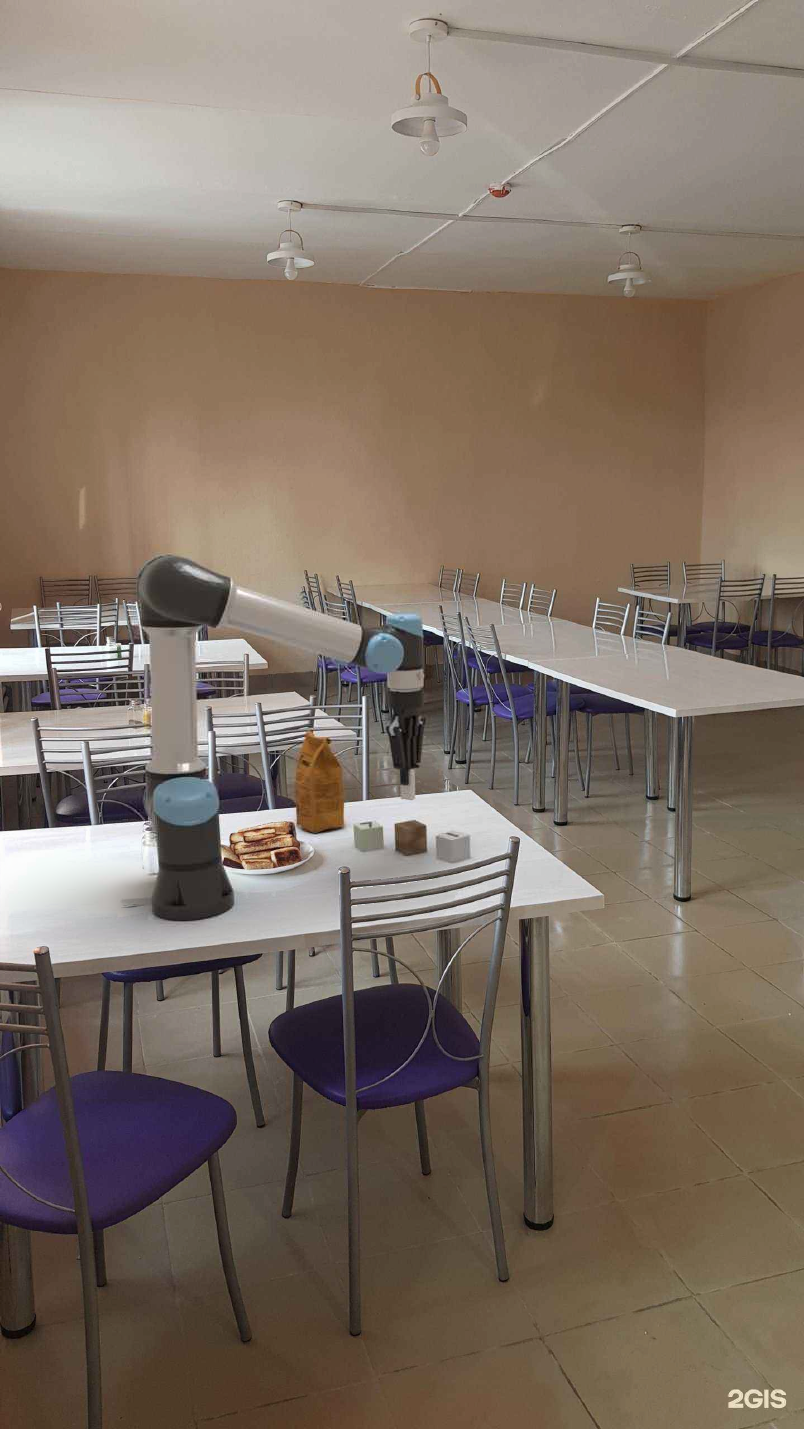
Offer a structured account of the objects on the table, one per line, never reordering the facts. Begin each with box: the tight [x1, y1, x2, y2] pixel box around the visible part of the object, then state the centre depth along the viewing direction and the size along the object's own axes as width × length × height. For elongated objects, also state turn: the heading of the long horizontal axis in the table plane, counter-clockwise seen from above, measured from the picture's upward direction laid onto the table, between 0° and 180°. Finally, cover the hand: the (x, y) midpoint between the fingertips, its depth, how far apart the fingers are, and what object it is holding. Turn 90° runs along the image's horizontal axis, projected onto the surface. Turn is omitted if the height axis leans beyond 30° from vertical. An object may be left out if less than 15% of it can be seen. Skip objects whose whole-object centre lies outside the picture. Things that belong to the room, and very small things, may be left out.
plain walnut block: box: [394, 819, 428, 857], centre depth 226 cm, size 5×5×6 cm
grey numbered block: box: [435, 829, 471, 864], centre depth 221 cm, size 5×5×5 cm
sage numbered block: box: [353, 820, 385, 853], centre depth 231 cm, size 5×5×5 cm
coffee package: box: [294, 730, 345, 834], centre depth 246 cm, size 10×12×22 cm
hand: (408, 798), depth 225 cm, fingers closed
